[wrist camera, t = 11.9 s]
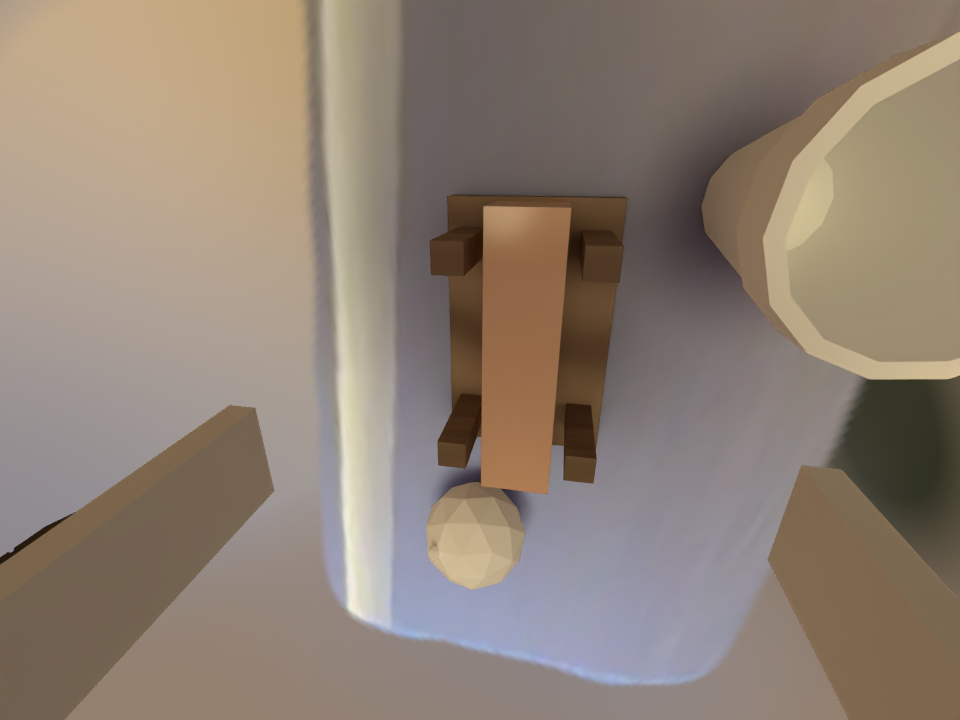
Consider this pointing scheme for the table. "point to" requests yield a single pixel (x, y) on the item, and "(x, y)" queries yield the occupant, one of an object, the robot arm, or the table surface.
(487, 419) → the clay bar
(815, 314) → the foam cup
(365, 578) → the table surface
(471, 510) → the cream rounded egg shape
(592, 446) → the rack
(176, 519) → the robot arm
